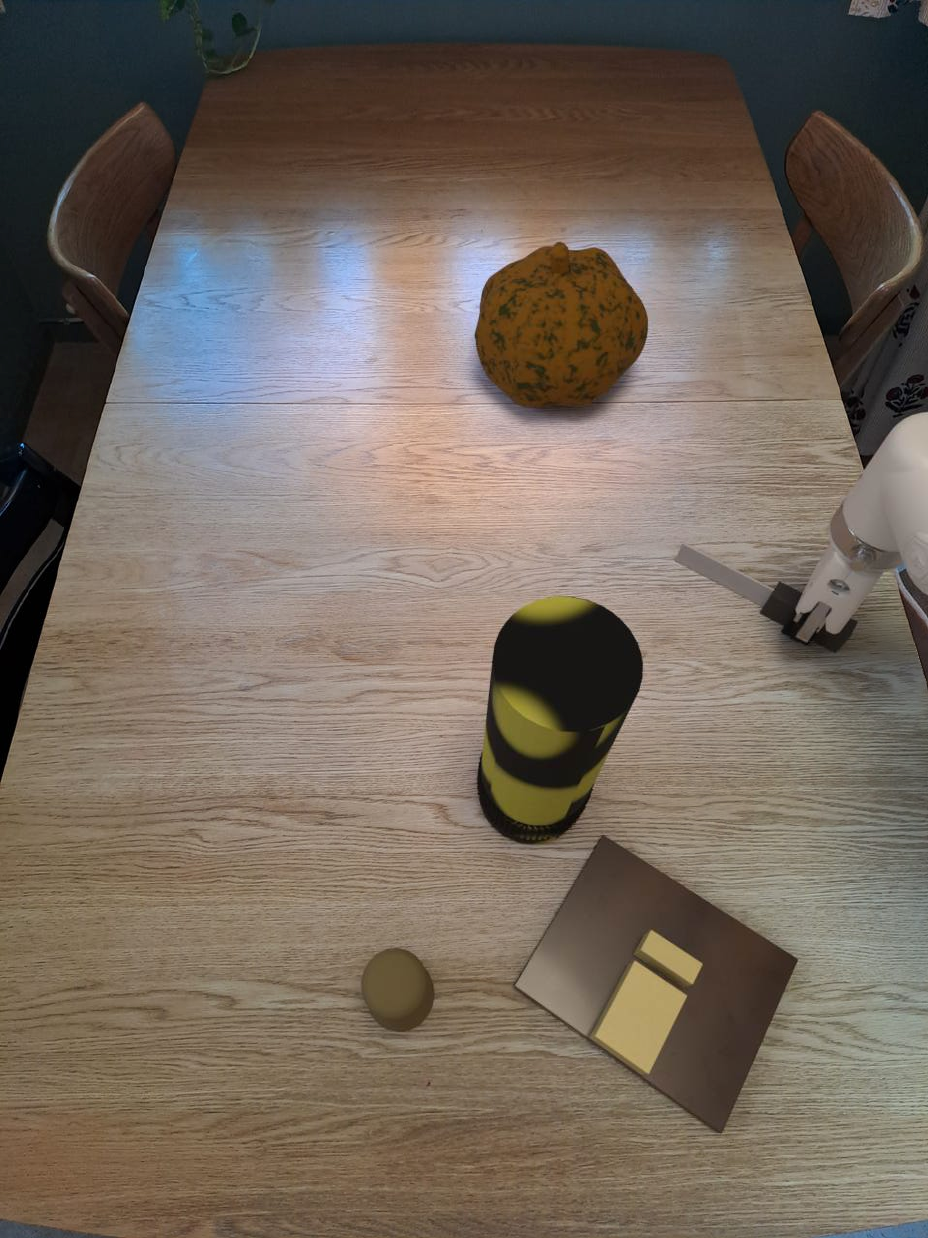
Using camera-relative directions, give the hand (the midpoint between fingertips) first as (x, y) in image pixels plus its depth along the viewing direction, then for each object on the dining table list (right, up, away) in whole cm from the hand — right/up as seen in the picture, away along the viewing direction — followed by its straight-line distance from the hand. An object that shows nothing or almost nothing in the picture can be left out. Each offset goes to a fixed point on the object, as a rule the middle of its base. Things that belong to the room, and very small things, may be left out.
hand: (802, 624), depth 93 cm
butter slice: (-20, -30, -18) cm, 40 cm away
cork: (-43, -33, -18) cm, 57 cm away
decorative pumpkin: (-26, +33, +18) cm, 45 cm away
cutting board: (-20, -31, -17) cm, 41 cm away
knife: (-4, +2, +2) cm, 5 cm away
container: (-31, -17, -9) cm, 36 cm away
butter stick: (-23, -34, -20) cm, 46 cm away
